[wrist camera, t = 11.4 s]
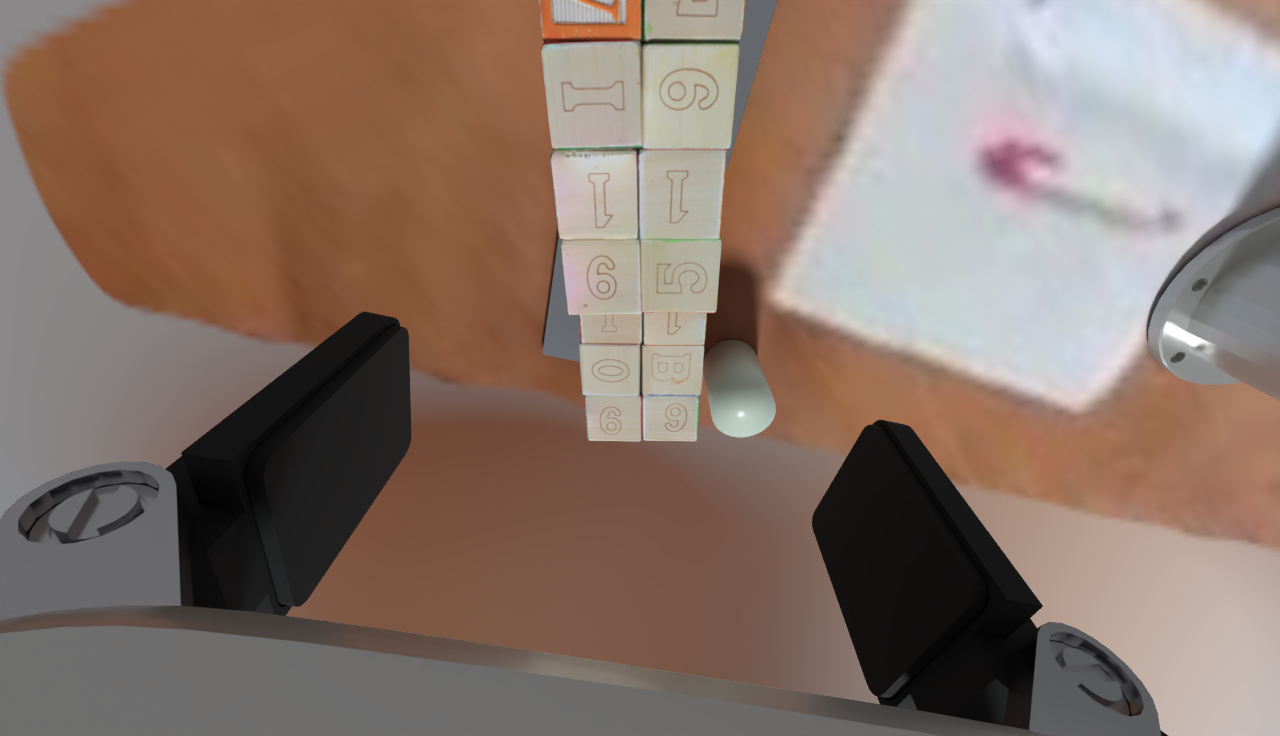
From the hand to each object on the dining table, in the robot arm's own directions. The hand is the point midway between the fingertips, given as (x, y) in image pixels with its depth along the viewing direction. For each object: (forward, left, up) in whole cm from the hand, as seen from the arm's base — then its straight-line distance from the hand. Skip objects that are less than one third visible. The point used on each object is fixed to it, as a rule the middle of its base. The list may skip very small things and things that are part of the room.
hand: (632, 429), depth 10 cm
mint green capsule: (-9, +10, -23) cm, 26 cm away
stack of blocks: (0, 0, -22) cm, 22 cm away
